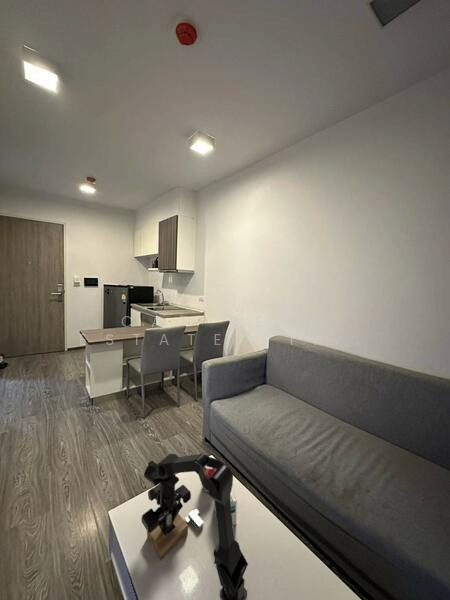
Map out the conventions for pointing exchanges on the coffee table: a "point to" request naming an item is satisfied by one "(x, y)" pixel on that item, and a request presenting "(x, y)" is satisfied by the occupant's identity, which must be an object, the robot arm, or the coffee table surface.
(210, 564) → the coffee table surface
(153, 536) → the bore block
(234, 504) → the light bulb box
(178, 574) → the coffee table surface
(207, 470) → the soda can
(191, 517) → the grey t-shaped block
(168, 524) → the cylinder
